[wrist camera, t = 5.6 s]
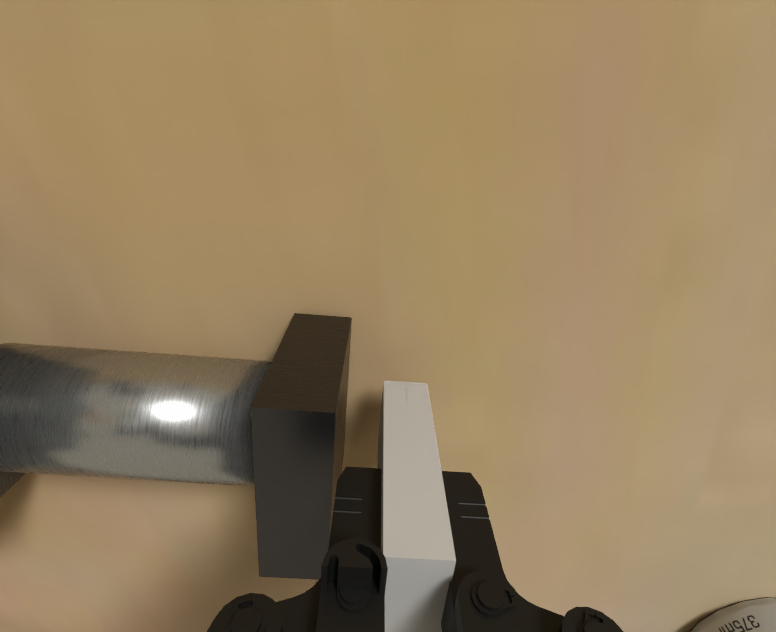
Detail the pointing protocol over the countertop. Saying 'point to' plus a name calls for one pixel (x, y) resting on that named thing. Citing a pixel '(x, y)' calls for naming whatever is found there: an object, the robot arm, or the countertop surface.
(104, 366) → the lynch pin
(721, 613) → the supplement can
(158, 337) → the countertop surface
